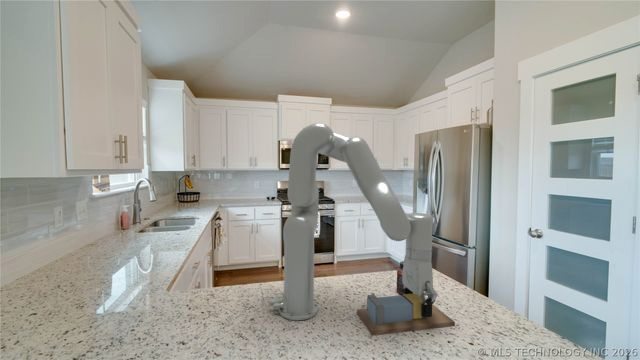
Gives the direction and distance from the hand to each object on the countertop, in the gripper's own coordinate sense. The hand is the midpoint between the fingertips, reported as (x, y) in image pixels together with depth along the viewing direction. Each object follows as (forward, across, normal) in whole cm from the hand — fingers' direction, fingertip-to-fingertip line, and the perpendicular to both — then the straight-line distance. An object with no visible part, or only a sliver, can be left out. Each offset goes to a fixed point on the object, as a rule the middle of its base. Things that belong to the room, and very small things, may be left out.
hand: (417, 308), depth 83 cm
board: (+3, 0, -4) cm, 5 cm away
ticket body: (+2, 0, -9) cm, 10 cm away
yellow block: (+1, 0, -1) cm, 2 cm away
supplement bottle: (+3, -17, +6) cm, 18 cm away
